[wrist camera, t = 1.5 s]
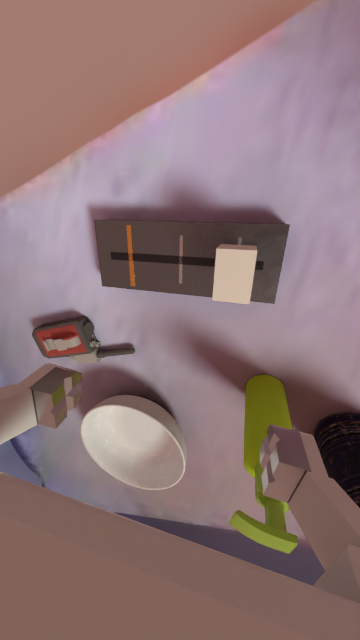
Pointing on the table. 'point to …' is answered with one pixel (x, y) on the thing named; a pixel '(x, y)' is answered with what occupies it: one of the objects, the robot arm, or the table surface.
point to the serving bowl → (135, 442)
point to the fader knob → (234, 273)
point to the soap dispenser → (260, 411)
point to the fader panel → (185, 255)
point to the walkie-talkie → (72, 341)
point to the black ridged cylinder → (341, 450)
